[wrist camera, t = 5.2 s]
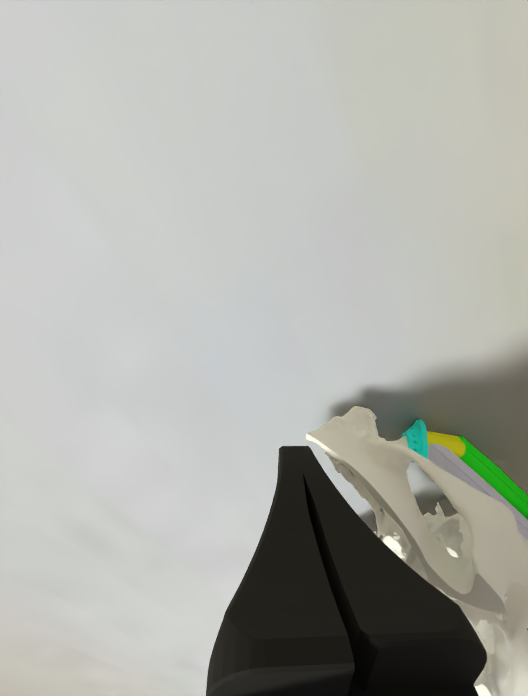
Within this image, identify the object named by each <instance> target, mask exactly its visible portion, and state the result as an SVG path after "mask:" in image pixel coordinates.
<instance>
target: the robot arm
mask: <svg viewBox="0 0 528 696" xmlns="http://www.w3.org/2000/svg"><path fill="white" fill-rule="evenodd" d="M486 662H487V652H486V650H485V648H484V646H483V644H482V642H481V641H480V639H479V637H478V635H477V633H476V631H475V630H474V628H473V626H472V625H471V623H470V622H469V620H468V619H467V617H466V616H465V614H464V613H463V611H462V609H461V608H460V606H459V605H458V604H456V603H455V602H454V601H453V600H451V599H450V598H449V597H447V596H446V595H445V594H443V593H442V592H441V591H439V590H438V589H437V588H435V587H434V586H433V585H431V584H430V583H429V582H427V581H426V580H425V579H424V578H422V577H421V576H420V575H419V574H418V573H417V572H415V571H414V570H413V569H412V568H411V567H409V566H408V565H407V564H406V563H405V562H404V561H403V560H402V559H401V558H400V557H398V556H397V555H396V554H395V553H394V552H393V551H392V550H391V549H390V548H389V547H388V546H387V545H386V544H384V543H383V542H382V541H381V540H380V539H379V538H378V537H377V535H376V534H375V533H374V532H373V531H372V530H371V529H370V528H369V527H368V526H367V525H366V524H365V523H364V522H363V521H362V520H361V518H360V517H359V516H358V515H357V514H356V513H355V511H354V510H353V509H352V508H351V507H350V505H349V504H348V503H347V502H346V500H345V499H344V498H343V497H342V495H341V494H340V493H339V491H338V490H337V489H336V487H335V486H334V484H333V483H332V482H331V480H330V479H329V477H328V476H327V474H326V473H325V472H324V470H323V468H322V467H321V465H320V464H319V462H318V461H317V459H316V457H315V456H314V454H313V452H312V450H311V448H310V447H309V446H282V447H281V448H279V462H278V479H277V486H276V491H275V495H274V498H273V502H272V506H271V509H270V513H269V516H268V519H267V522H266V525H265V528H264V531H263V533H262V536H261V538H260V541H259V544H258V546H257V549H256V551H255V553H254V556H253V558H252V560H251V562H250V564H249V567H248V569H247V571H246V573H245V575H244V577H243V580H242V582H241V584H240V586H239V587H238V589H237V591H236V593H235V595H234V597H233V599H232V601H231V602H230V604H229V606H228V608H227V610H226V612H225V615H224V619H223V621H222V624H221V627H220V630H219V633H218V636H217V638H216V641H215V645H214V648H213V651H212V655H211V658H210V663H209V668H208V677H207V689H206V696H479V695H478V693H477V691H476V689H475V687H474V683H475V681H476V680H477V678H478V677H479V675H480V674H481V672H482V671H483V669H484V667H485V664H486Z"/></svg>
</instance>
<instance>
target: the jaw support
mask: <svg viewBox="0 0 528 696" xmlns="http://www.w3.org/2000/svg"><path fill="white" fill-rule="evenodd" d="M376 419H377V417H376V416H375V414H374V413H373V412H372V411H371V410H370V409H367V408H363V407H359V406H354V407H352V408H351V409H350V411H348V412H347V413H346V414H345V415H344V416H342V417H340V416H335V417H333V418H332V419H331V420H330V421H328V422H327V423H326V424H325V425H324V426H322V427H321V428H319V429H318V430H316V431H313V432H311V433H308V434H307V436H306V439H307V440H310V441H313V442H315V443H317V444H318V445H320V446H321V447H322V448H323V449H324V450H326V451H325V454H326V455H327V456H328V457H329V458H330V460H331V462H332V463H333V465H334V467H335V469H336V471H337V472H338V473H341V474H342V475H343V476H344V478H345V479H346V480H347V481H348V482H350V483H351V484H352V485H353V486H354V488H355V489H356V490H357V491H358V492H359V494H360V495H361V497H363V498H365V499H366V500H367V501H368V503H369V504H370V506H371V508H372V509H373V511H374V513H375V516H376V524H377V527H378V532H377V533H376V531H374V533H375V534H377V537H378V538H379V537H380V535H382V540H381V541H382V542H383V543H384V544H386V545H387V546H388V547H389V548H390V549H391V550H392V551H393V552H394V553H395V554H396V555H397V556H398V557H400V558H401V559H402V560H403V561H404V562H405V563H406V564H407V565H408V566H409V567H411V568H412V569H413V570H414V571H415V572H417V573H418V574H419V575H420V576H421V577H422V578H424V579H425V580H426V581H427V582H429V583H430V584H431V585H433V586H434V587H435V588H437V589H438V590H439V591H441V592H442V593H443V594H445V595H446V596H447V597H449V598H450V599H451V600H453V601H454V602H455V603H456V604H458V605H459V606H460V608H461V609H462V611H463V613H464V614H465V616H466V617H467V619H468V620H469V622H470V623H471V625H472V626H473V628H474V630H475V631H476V633H477V635H478V637H479V639H480V641H481V642H482V644H483V646H484V648H485V650H486V652H487V662H486V664H485V667H484V669H483V671H482V672H481V674H480V675H479V677H478V678H477V680H476V681H475V683H474V687H475V689H476V691H477V693H478V695H479V696H528V630H527V628H528V495H527V494H526V493H525V492H524V491H523V490H521V489H520V488H519V487H518V486H517V485H516V484H515V483H514V482H513V481H512V480H511V479H510V478H509V477H508V476H507V475H506V474H505V473H504V472H503V471H502V470H501V469H500V468H499V467H498V466H496V465H495V464H494V463H493V462H492V461H491V460H489V459H488V458H487V457H486V456H485V455H484V454H482V453H481V452H480V451H479V450H478V449H476V448H475V447H474V446H473V445H472V444H471V443H470V442H468V441H467V440H466V439H465V438H464V437H463V436H453V435H447V434H441V433H436V432H430V431H427V430H426V425H425V423H424V421H423V420H422V419H421V420H416V421H415V423H414V424H413V426H411V427H410V428H408V430H407V431H405V432H404V433H403V434H402V436H401V439H398V440H395V441H386V440H385V438H381V437H379V436H378V431H377V428H376V423H375V420H376ZM429 460H430V461H429ZM410 461H413V462H416V463H417V464H418V465H419V466H420V467H421V468H422V469H423V470H424V471H425V472H426V473H427V474H428V475H429V476H430V477H431V478H432V479H433V481H434V482H435V483H436V484H437V486H438V487H439V488H440V489H441V490H442V492H443V493H444V494H445V495H446V497H447V498H448V499H449V501H450V503H451V504H452V506H453V507H454V508H455V509H456V510H457V514H455V515H452V516H449V517H445V515H444V512H443V510H442V509H441V507H440V505H439V502H437V506H436V508H435V510H436V513H437V514H436V515H432V514H430V513H429V512H427V513H426V514H424V515H422V514H421V512H420V510H419V508H418V505H417V502H416V498H415V496H414V495H413V493H412V491H411V489H410V486H409V483H408V479H407V468H408V463H409V462H410ZM380 508H382V509H383V511H384V513H385V514H383V513H381V512H380Z"/></svg>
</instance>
